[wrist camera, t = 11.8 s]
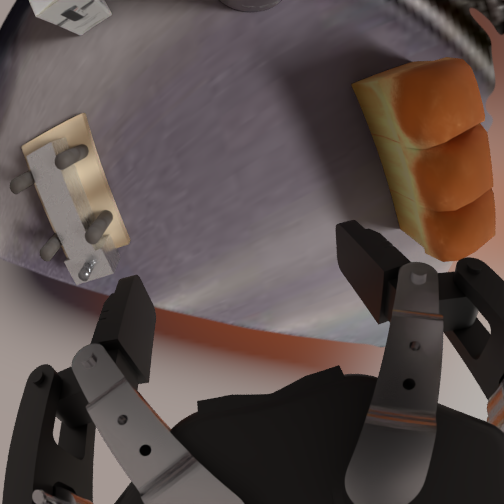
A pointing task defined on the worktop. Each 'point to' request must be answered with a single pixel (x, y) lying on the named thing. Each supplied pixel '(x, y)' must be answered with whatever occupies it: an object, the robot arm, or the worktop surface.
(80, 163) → the rack
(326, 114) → the worktop surface
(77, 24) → the ink box
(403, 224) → the bread
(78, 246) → the grey pegged bar
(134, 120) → the worktop surface
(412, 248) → the worktop surface
